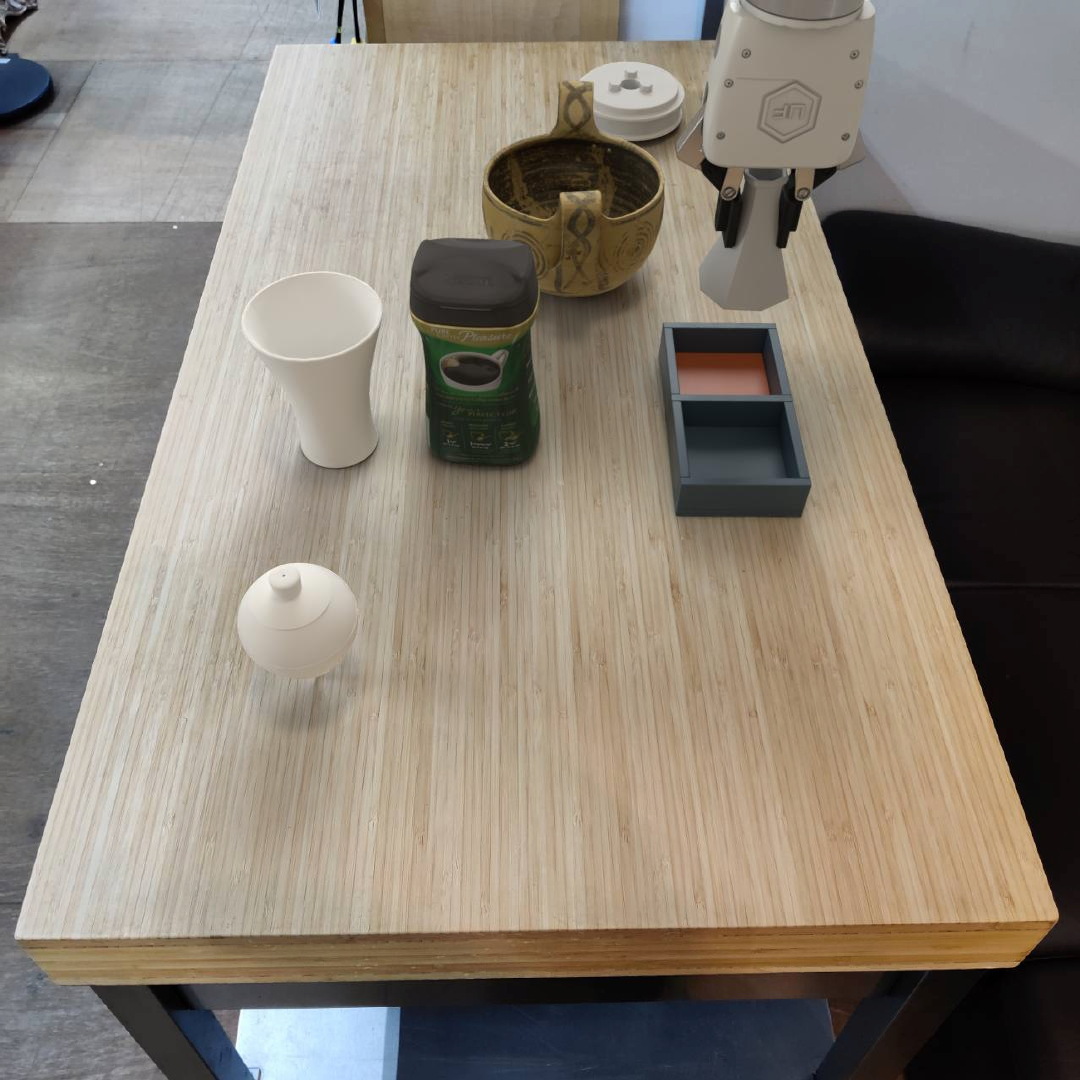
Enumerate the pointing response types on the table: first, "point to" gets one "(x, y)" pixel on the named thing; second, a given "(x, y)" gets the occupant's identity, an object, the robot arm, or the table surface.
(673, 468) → the divided tray
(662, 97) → the lid
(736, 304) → the flask
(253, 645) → the spinning top
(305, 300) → the cup
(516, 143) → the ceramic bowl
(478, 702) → the table surface
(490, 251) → the coffee jar
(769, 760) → the table surface
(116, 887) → the table surface
